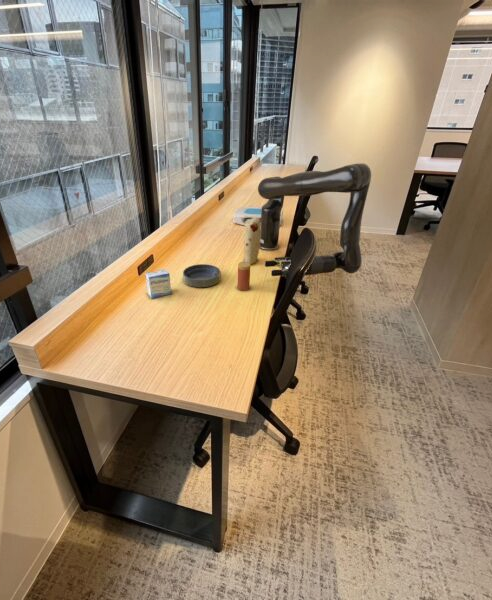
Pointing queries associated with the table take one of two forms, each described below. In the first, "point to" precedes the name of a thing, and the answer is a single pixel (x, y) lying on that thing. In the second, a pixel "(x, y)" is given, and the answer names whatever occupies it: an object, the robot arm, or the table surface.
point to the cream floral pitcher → (251, 240)
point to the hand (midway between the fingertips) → (268, 268)
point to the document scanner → (249, 214)
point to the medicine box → (158, 283)
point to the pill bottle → (243, 276)
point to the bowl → (201, 275)
